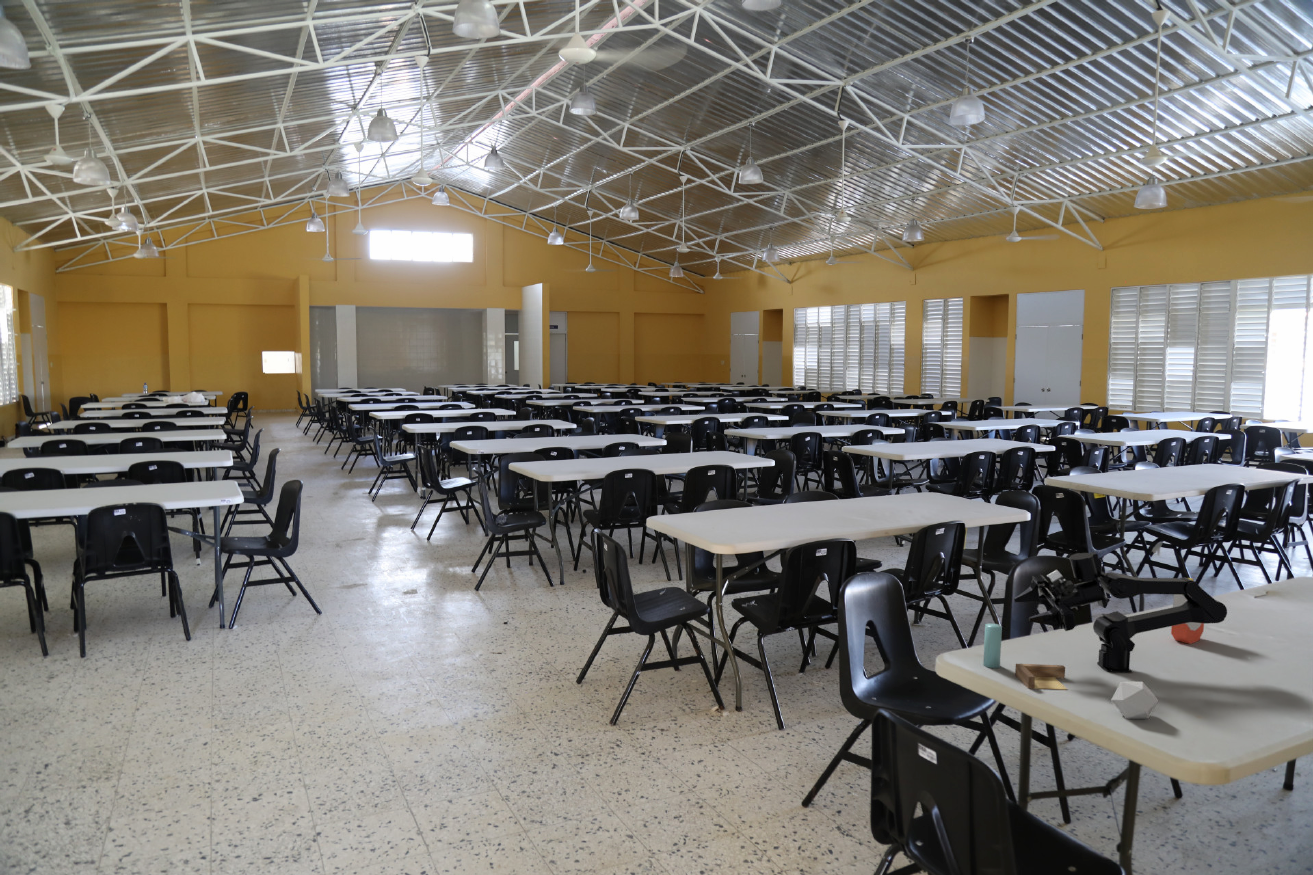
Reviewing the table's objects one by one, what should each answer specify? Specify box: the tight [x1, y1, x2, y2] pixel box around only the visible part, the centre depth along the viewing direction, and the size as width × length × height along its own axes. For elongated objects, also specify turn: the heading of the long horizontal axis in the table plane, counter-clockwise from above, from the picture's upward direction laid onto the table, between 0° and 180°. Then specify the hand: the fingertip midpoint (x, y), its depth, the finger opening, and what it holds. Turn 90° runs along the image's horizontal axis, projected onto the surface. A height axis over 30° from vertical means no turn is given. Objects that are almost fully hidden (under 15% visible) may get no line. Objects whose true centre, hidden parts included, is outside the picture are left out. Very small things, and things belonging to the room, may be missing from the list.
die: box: [1110, 681, 1159, 720], centre depth 198 cm, size 8×9×10 cm
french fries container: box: [1170, 577, 1205, 645], centre depth 253 cm, size 5×11×18 cm, turn 124°
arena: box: [1014, 663, 1068, 691], centre depth 219 cm, size 12×10×3 cm
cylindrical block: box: [983, 623, 1003, 669], centre depth 230 cm, size 4×4×11 cm
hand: (1021, 609), depth 229 cm, fingers open, 9 cm apart
